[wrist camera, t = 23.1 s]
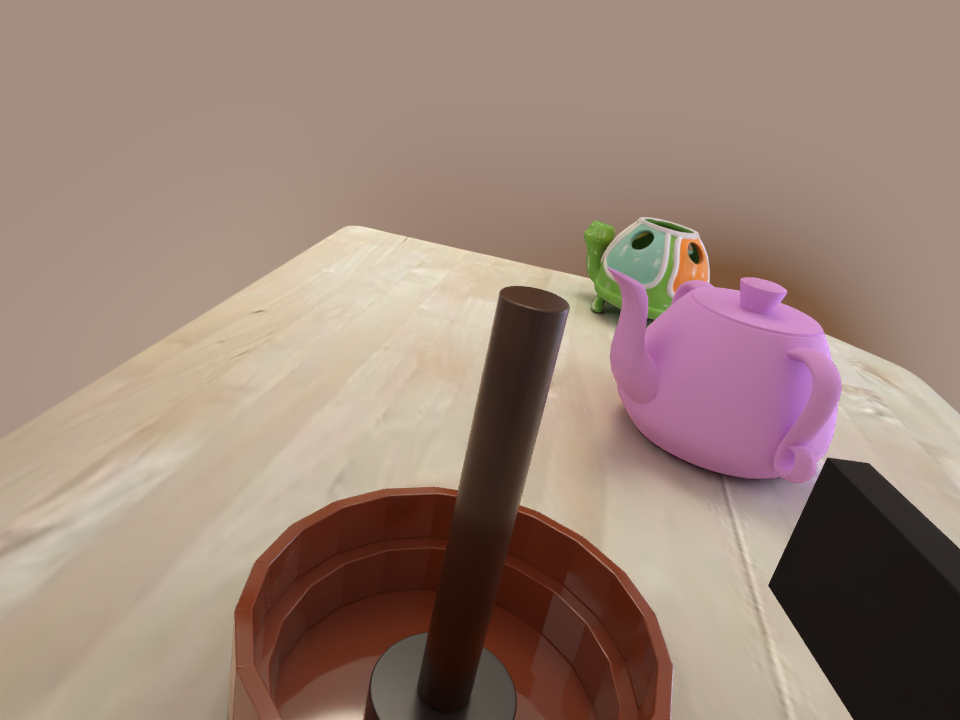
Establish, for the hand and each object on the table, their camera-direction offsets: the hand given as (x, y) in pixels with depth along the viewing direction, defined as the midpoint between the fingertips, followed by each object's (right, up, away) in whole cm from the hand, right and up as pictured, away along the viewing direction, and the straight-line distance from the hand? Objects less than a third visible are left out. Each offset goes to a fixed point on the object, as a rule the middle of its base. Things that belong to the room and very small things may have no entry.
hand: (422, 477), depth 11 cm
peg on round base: (-1, -12, +17) cm, 21 cm away
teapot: (+18, -5, +47) cm, 50 cm away
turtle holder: (+20, +7, +76) cm, 78 cm away
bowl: (-1, -13, +18) cm, 22 cm away
